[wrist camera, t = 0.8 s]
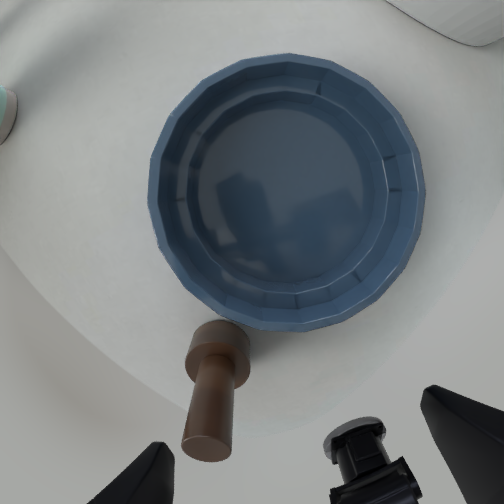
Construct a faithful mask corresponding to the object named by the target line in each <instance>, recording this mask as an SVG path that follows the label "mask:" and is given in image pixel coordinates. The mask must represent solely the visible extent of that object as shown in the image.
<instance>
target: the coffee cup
mask: <svg viewBox="0 0 504 504" xmlns="http://www.w3.org/2000/svg"><path fill="white" fill-rule="evenodd" d="M16 112H17V97H16V95H15V93H14V92H12V91H10V90H8V89H6V88H5V87H3V86H1V85H0V144H1V143H3V141H4V140H5V139H6V137H7V136H8V134H9V132H10V130H11V128H12V126H13V123H14V120H15V117H16Z"/></svg>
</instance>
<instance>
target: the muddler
mask: <svg viewBox="0 0 504 504" xmlns="http://www.w3.org/2000/svg"><path fill="white" fill-rule="evenodd" d="M185 368H186V371H187V374H188V376H189V377H190V378H191V380H192V381H193V382H194V383H195V386H194V390H193V395H192V399H191V403H190V407H189V412H188V416H187V421H186V425H185V429H184V434H183V439H182V443H181V447H182V450H183V451H184V452H185V453H186V454H187V455H188V456H190V457H192V458H194V459H196V460H199V461H204V462H218V461H223V460H225V459H227V458H228V457H229V456H230V455H231V451H232V429H233V407H234V389H236V388H238V387H240V386H241V385H243V384H244V383H245V382H246V380H247V379H248V377H249V374H250V343H249V339H248V337H247V335H246V334H245V332H244V331H243V330H242V329H241V328H239V327H238V326H236V325H235V324H233V323H230V322H226V321H212V322H208V323H206V324H204V325H202V326H201V327H199V328H198V329H197V330H196V332H195V333H194V335H193V338H192V341H191V344H190V347H189V350H188V353H187V356H186V359H185Z"/></svg>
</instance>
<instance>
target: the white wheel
mask: <svg viewBox="0 0 504 504" xmlns="http://www.w3.org/2000/svg"><path fill="white" fill-rule="evenodd" d="M386 1H388V2H389V3H391V4H392V5H394V6H395V7H397V8H398V9H400V10H401V11H403V12H405V13H406V14H408V15H409V16H411V17H413V18H414V19H416V20H418V21H419V22H421V23H423V24H424V25H426V26H428V27H430V28H431V29H433V30H435V31H437V32H439V33H441V34H443V35H445V36H447V37H448V38H451V39H453V40H455V41H458V42H461V43H463V44H467V45H471V46H484V45H487V44H490V43H492V42H494V41H496V40H499V39H501V38H503V37H504V0H386Z"/></svg>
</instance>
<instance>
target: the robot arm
mask: <svg viewBox="0 0 504 504" xmlns="http://www.w3.org/2000/svg"><path fill="white" fill-rule="evenodd" d="M420 407H421V410H422V413H423V415H424V417H425V420H426V422H427V425H428V427H429V429H430V432H431V434H432V437H433V439H434V441H435V443H436V445H437V447H438V449H439V450H440V452H441V454H442V456H443V457H444V460H445V461H446V463H447V465H448V467H449V469H450V471H451V473H452V475H453V476H454V478H455V480H456V482H457V484H458V486H459V488H460V490H461V492H462V494H463V496H464V498H465V501H466V503H467V504H504V411H501V410H499V409H496V408H493V407H490V406H488V405H485V404H483V403H480V402H477V401H474V400H472V399H470V398H467V397H464V396H462V395H459V394H457V393H454V392H452V391H450V390H447V389H445V388H442V387H440V386H437V385H431V386H429V387H427V388H426V389H424V391H423V395H422V400H421V404H420ZM383 427H384V424H383V423H382V422H379V423H376V424H373V425H371V426H368V427H365V428H362V429H359V430H356V431H353V432H350V433H347V434H343V435H340V436H336V437H333V438H332V439H331V456H332V463H333V464H334V465H335V464H339V468H340V471H341V474H342V478H343V481H344V485H342V486H339V487H337V488H332V489H330V493H331V494H330V495H329V497H330V502H331V504H419V503H418V501H417V500H418V499H419V498H421V497H422V493H421V490H420V487H419V485H418V483H417V481H416V479H415V477H414V475H413V473H412V472H411V470H410V468H409V466H408V465H407V463H406V461H405V459H404V458H403V456H402V457H400V458H399V459H398V460H396V461H394V462H392V463H391V461H390V459H389V457H388V455H387V452H386V450H385V448H384V446H383V444H382V442H381V439H382V433H383ZM174 464H175V459H174V455H173V453H172V452H171V450H170V449H169V448H168V446H167V445H166V443H164V442H153V443H151V444H150V445H149V446H148V447H147V448H146V449H145V450H144V451H143V452H142V453H141V454H140V455H139V456H138V457H137V458H136V459H135V460H134V461H133V462H132V463H131V464H130V465H129V466H128V467H127V468H126V469H125V470H124V471H123V472H121V474H119V475H118V476H117V477H116V478H115V479H114V480H113V481H112V482H111V483H110V484H109V485H108V486H106V487H105V488H104V489H103V490H102V491H101V492H100V493H99V494H97V495H96V496H95V497H94V499H92V500H91V501H89V502H88V503H87V504H173V496H174Z"/></svg>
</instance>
